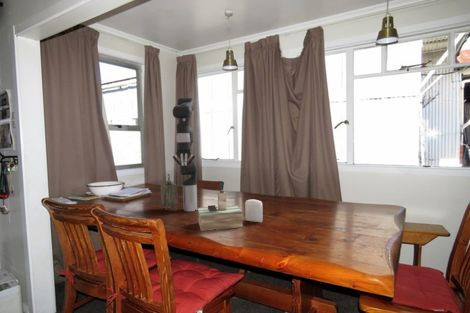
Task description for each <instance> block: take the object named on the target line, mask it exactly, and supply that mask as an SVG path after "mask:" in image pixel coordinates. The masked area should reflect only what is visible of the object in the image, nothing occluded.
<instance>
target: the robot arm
mask: <svg viewBox="0 0 470 313" xmlns="http://www.w3.org/2000/svg"><path fill="white" fill-rule="evenodd" d="M195 105H196V104H195V100H194V98H192V97H180V98H178V99H177V105H174V107H173V108H172V116H173V117H174V118H175V119H178V123H176V137H175V138H176V139H175V140H176V152H175V154H174V155H173V156H172V159H174V161H175V162H176V164H178V165H179V172H180V174H181V176H189V175H190V176H189V177H188V178H186V179H184V180H183V181H182V200H183V202H182V203H183V211H184V212H195V210H196V211H198V187H197V186H198V185H197V184H198V183H197V171H198V170H197V168H198V167H197V163H196V161H195V160H194V159H195V158H196V155H194V154H193V153H192V151H191V147H192V145H193V142H194V131H193V129H192V127H191V125H190V122H191V117H192V113H193V112H194V111H195ZM189 158H190V159H189ZM178 159H179V160H178ZM188 159H189V160H188Z"/></svg>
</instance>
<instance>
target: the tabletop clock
mask: <svg viewBox="0 0 470 313" xmlns="http://www.w3.org/2000/svg"><path fill="white" fill-rule="evenodd" d="M167 176H168V177H167V180H166V181H165V182H164V184H162V185H160V199H161V200H160V201H161V205H162V206H163V207H166V208H165V209H164V210H165V211H166V210H167V211H168V210H169V208H168V207H170V208H171V209H173V212H177V208H175V206H178V203H179V202H178V186H177V183H174V182H173V181H172V180H171V179H170V177H171V175H170V173H167Z"/></svg>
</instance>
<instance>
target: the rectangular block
mask: <svg viewBox="0 0 470 313" xmlns="http://www.w3.org/2000/svg"><path fill="white" fill-rule="evenodd" d="M197 211H198V215H197V216H198V226H199V229H200V231H201V232H205V231H213V230H214V229H216V230H225V229H236V228H243V213H244V211H243V210H242V209H241V208H240V207H239V206H238V205H235V204H234V205H227V209H226V210H219V209H218V206H216V205H215V204H213V205H207V207H206V206H205V207H197Z"/></svg>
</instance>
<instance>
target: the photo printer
mask: <svg viewBox="0 0 470 313" xmlns="http://www.w3.org/2000/svg"><path fill="white" fill-rule="evenodd" d="M244 205H245V206H244V211H245V216H244V218H245V221H247V222H248V221H249V222H253V223H262V222H263V220H264V219H263V218H264V217H263V202H262V201H261V200H258V199H247V200H245V203H244Z"/></svg>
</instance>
